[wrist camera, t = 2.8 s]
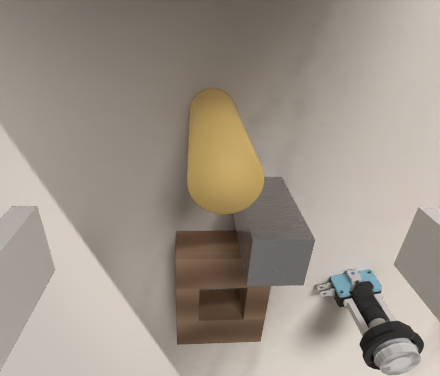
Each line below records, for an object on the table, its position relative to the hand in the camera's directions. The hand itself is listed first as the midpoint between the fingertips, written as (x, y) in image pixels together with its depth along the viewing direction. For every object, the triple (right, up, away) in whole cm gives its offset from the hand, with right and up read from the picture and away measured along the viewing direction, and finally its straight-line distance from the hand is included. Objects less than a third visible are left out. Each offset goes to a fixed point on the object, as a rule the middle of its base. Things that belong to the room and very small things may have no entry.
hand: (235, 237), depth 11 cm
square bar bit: (+3, +1, +18) cm, 18 cm away
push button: (+14, -9, +25) cm, 30 cm away
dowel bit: (-1, +8, +14) cm, 16 cm away
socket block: (-1, -8, +23) cm, 24 cm away
